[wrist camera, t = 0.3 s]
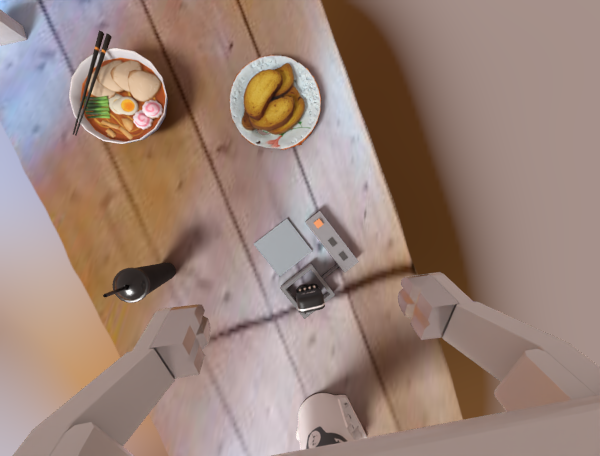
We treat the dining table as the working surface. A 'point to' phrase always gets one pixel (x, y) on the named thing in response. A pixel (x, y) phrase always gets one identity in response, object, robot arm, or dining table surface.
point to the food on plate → (275, 102)
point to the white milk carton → (10, 30)
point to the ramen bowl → (117, 94)
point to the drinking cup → (140, 281)
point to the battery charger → (309, 298)
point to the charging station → (333, 247)
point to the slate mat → (283, 247)
